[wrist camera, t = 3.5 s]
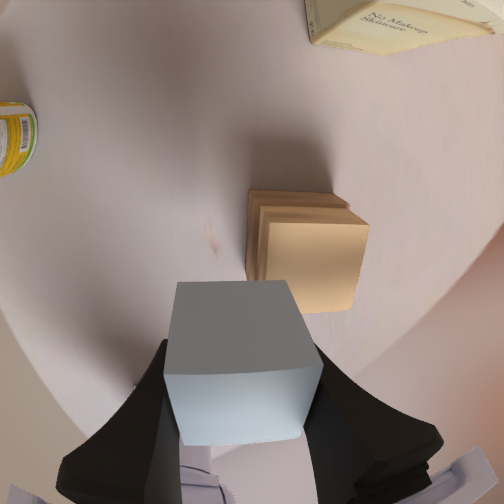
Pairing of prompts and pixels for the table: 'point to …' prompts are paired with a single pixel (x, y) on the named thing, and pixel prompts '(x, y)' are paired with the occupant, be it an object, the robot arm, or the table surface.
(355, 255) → the tower mid
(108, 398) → the table surface
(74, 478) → the robot arm
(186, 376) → the blue block
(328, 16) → the skincare box
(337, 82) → the table surface
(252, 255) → the tower base
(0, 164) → the supplement bottle
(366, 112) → the table surface
